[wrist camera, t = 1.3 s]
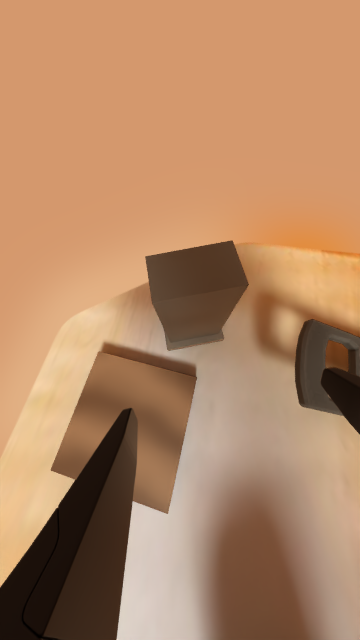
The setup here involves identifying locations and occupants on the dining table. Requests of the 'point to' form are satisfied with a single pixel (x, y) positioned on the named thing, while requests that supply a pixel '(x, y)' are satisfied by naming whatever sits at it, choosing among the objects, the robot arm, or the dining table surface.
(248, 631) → the dining table surface
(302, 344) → the zipper pull
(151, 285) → the picture frame
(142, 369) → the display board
